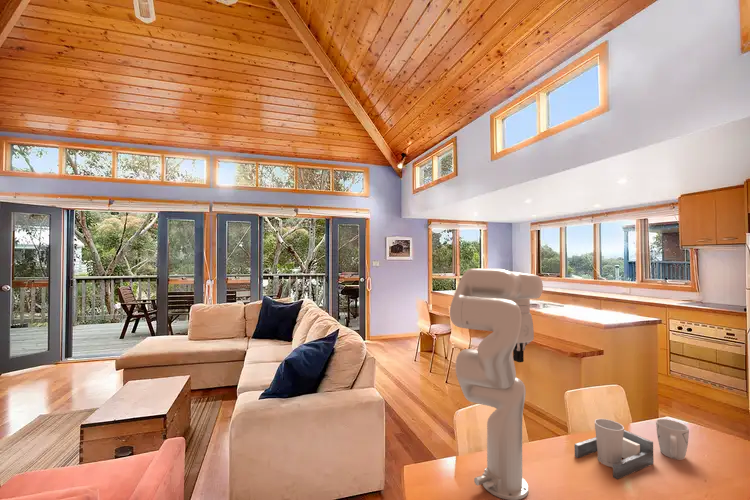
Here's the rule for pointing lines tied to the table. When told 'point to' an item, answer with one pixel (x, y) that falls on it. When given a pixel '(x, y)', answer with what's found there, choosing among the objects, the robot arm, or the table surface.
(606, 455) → the cup
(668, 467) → the table surface
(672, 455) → the mug
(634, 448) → the pusher plate
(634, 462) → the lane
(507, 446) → the robot arm
